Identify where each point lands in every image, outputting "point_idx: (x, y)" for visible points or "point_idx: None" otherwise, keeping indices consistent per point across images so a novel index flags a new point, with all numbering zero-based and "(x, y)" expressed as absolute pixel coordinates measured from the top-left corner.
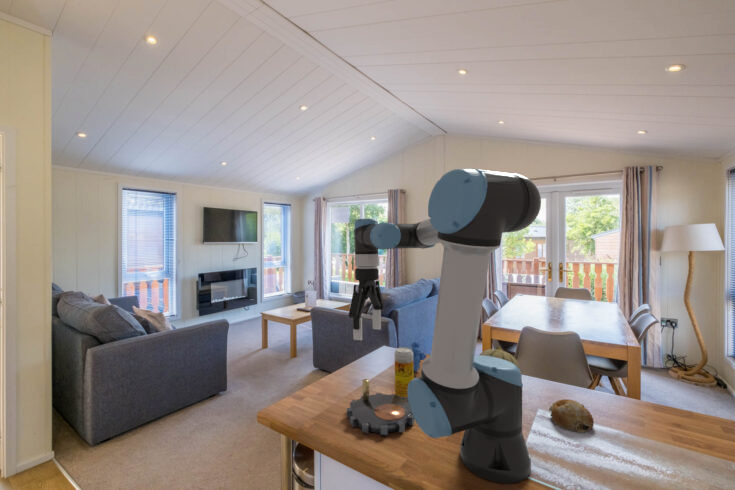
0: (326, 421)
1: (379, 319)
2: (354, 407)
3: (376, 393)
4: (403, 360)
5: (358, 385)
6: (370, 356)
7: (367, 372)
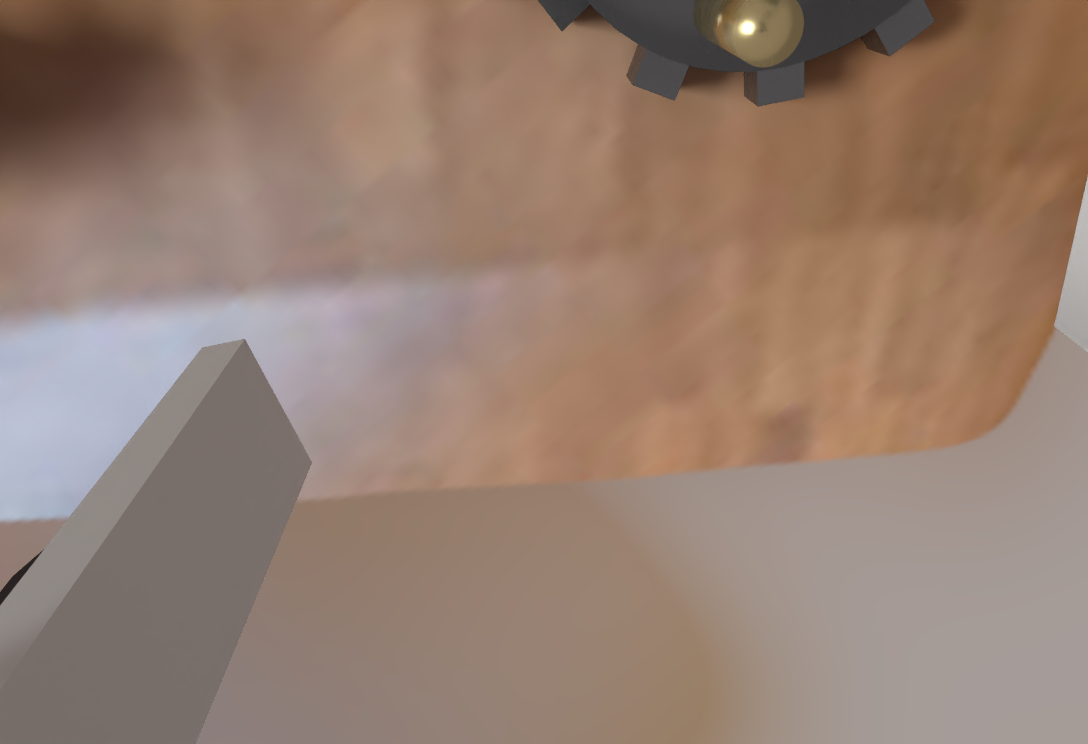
0: (970, 118)
1: (147, 493)
2: (874, 2)
3: (564, 22)
4: None
5: (448, 290)
6: (46, 514)
7: None
